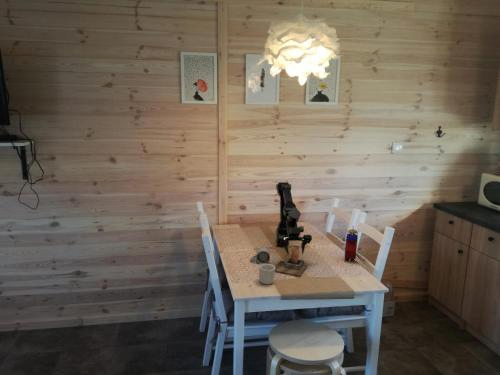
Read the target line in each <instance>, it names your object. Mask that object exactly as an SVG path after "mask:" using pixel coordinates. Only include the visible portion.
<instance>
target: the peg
mask: <svg viewBox="0 0 500 375" xmlns="http://www.w3.org/2000/svg"><path fill="white" fill-rule="evenodd" d="M290 250H291V252H290V258H291V264H296V265H298V260H299V255H300V254H299V253H300V246H299V245H295V244H294V245H291V249H290Z"/></svg>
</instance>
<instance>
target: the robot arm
mask: <svg viewBox="0 0 500 375" xmlns="http://www.w3.org/2000/svg"><path fill="white" fill-rule="evenodd" d="M275 190H276V193H277V195H278V197H279V222H278V224H277V227H276V230H275V236H276V237H275V244H276V246H275V247H277V248H283V249H284V251H285V253H286V254H287V255H289V252H290V251H289V248H288V247H289V246H290V241H291V242H292V241H295V242H296V241H297V242H299V241H300V242H301V243H300V246H301V247H300V248H301V254H302V255H304V253H305V248H306V245H307V244H310V243H311V242H312V240H313V237H312V234H303V236H301V233H304V231H305V229H304V227H305V226H304V225H300V226H298V222H299V219H300V217H301V212H300V210H298V207H297V205H296V204H295V203H294V200H293V197H292V196H293V195H292V192H291V191H292V184H291V183H289V182H286V181H285V182H282V181H279V182H277V183H276V187H275Z"/></svg>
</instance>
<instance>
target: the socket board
mask: <svg viewBox="0 0 500 375" xmlns="http://www.w3.org/2000/svg"><path fill="white" fill-rule="evenodd" d="M274 266H275V273H277V274H283V275H287V276H292V277H298V278H301V277H302V275H303V274H304V273H305V271H306V269H308V265H307V264H305V260H303V259H298V265H296V264H291V257H288V259H286V261H285V260H280V261H279V262H278V263H276V265H274Z"/></svg>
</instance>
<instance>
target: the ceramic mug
mask: <svg viewBox="0 0 500 375" xmlns="http://www.w3.org/2000/svg"><path fill="white" fill-rule="evenodd" d="M250 261H251V262H252V263H255V262H257V263H258V264H259V265H261V264H269V263H270V261H271V253H270V250H269V248H267V247H265V246H264V247H263V246H262V247H259V248H258V249H257V251H256V254H255V255H253V256H251V257H250ZM268 262H269V263H268Z"/></svg>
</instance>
